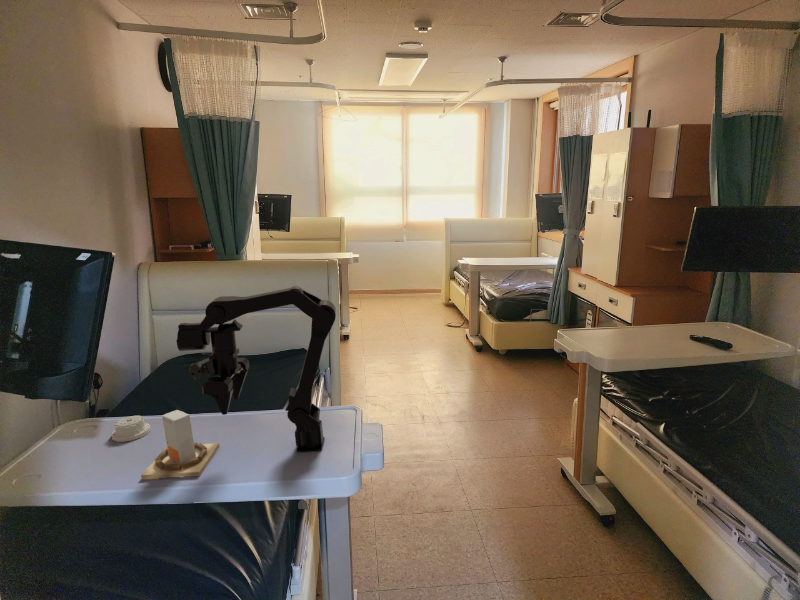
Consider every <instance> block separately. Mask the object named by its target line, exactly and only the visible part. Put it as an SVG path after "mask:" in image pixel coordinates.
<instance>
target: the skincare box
mask: <svg viewBox="0 0 800 600" xmlns="http://www.w3.org/2000/svg"><path fill="white" fill-rule="evenodd" d="M161 418H162V422H163V423H162V424H163V430H164V435H165V441H166V447H167V448H168V454H169V458H170V459H172V460H174V461H176V462H177V463H179V464H181V465H182V463H184V462H186V461H189V460H191V459H194V458H196V453H195V447H194V443H195V442H194V436H193V429H192V423H191V417H190V414H188V413H186V412H184V411H181V410H178V409H175V410H173V411H170V412H167V413H165V414H162V415H161Z"/></svg>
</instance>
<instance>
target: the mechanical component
mask: <svg viewBox="0 0 800 600" xmlns="http://www.w3.org/2000/svg"><path fill="white" fill-rule="evenodd" d="M114 429H115V430H113V431H112V433H111V439H112V441H114V442H118V443H123V442H131V441H134V440H137V439H140V438H143V437H144V436H147V434H149V433H150V432H151V425H150V424H149V423H148V422H145V419H144V416H141V415H132V416H126V417H124V418H121V419H119V420H117V421H116V422H115V424H114ZM149 431H150V432H149ZM148 432H149V433H148Z"/></svg>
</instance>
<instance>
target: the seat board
mask: <svg viewBox="0 0 800 600" xmlns="http://www.w3.org/2000/svg"><path fill="white" fill-rule="evenodd" d="M194 447H195V453H196V458H194V459H191V460H189V461H186V462H184V463H182V465H181V464H179V463H177V462H176V461H174V460H172V459H170V458H169V454H168V448H167V446H166V447H165V448H164V449H162V451H161V452H160V453H159V454H158V455H157V457H156V458H155V459H154V460H153V461H152V462H151V463H150V464H149V465H148V467H147V468H146V469H144V471H143V472H142V473H141V474H140V478H141V480H142V481H144V480H158V479H159V478H163V479H168V478H167V477H179V476H197V477H201V475H202V474H203V472H204V471H205V469H206V468H207V467H208V465H209V463H210V462H211V461H212V459H213V458H214V456H215V455H216V454H217V452H218V450H219V449H220V443H219V442H218V443H217V442H216V443H202V442H199V443H198V442H194ZM159 480H160V479H159Z"/></svg>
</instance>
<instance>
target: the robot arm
mask: <svg viewBox="0 0 800 600" xmlns="http://www.w3.org/2000/svg"><path fill="white" fill-rule="evenodd" d="M291 305H293V306H295V308H296V307H297V308H298V310H300V311H301V312H302V313H304V315H306V316H308V317H309V318H311V329H310V332H311V333H310V340H309V344H308V347H307V351H306V355H305V360H304V362H303V367H302V370H301V371H302V372H301V374H300V377H299V378H300V379H299V382H298V384H297V386H296V387H295V388H294V387H290V391H289V394H288V399H287V401H286V405H285V409H284V410H285V412H287V413H286V414H287V419H288V420H289V422H291V423H292V424H294V425H295V427H296V428H295V430H294V438H295V445H296V447H297V448H296V452H299V453H301V452H312V451H315V452H316V451H322V450H323V447H324V443H325V440H326V439H325V437H324V433H323V431H324V430H323V421H322V420H320V415H321V409H320V408H319V407H318V406H316V405H315V404H314V403H312V401H313V388H314V384H315V379H316V376H317V372H318V368H319V365H320V360H321V356H322V352H323V349H324V345H325V342H326V339H327V338H328V335H329V334H330V332H331V330H332V328H333V325H334V323H335V321H336V315H337V314H336V313H337V311H336V310H337V308H336V306H335V304H334V303H333V302H332V301H330V300H328V299H323V300H322V299H321V298H319V297H318V296H316V295H314V294H312V293H310V292H308V291H306V290H304V289H303V288H302V287H300V286H297V285H295V286H291V287H288V288H284V289H283V288H282V289H278V290H277V289H276V290H274V291H268V292H263V293H257V294H253V295H247V296H238V295H237V296H236V295H235V296H234V295H231V296H230V295H228V296H225V295H224V296H218V297H216V298H214V299H213V300H212V301H211V302H210V303H209V304H207V306H206V307H205V311H204V313H205V316H204V318H203V320H201V321H200V322H193V323H188V322H182V323H181V322H180V324H179V325H178V326H177V328H178V331H177V337H176V346H177V349H178V351H180V352H186V351H187V352H188V351H203V350H205V349H207V346H210V344H211V351H212V352H211V354H209V355H208V358H205V359H201V360H199V361H196V362H195V363H192V364H190V365H189V369H188V372H189V373H188V375H189V376H190V377H192V378H193V379H194V380H198V379H200V378H201V377H204V376H206V375H209V376H210V377H209V378H208V379H207V380H206V381H205V382H204V383H203V384H202V385H201V392H202V393H201V394H202V395H206V396H210V397H212V398H213V399H214V401H215V403H216V405H217V406H218V409H219V411H220V413H221V415H227V414H228V412H229V407H230V404H231V399H232V398H233V400H235V401H237V400H239V398H240V394H241V392H242V388H243V385H244V383H245V380H246V377H247V374H248V372H249V369H250V360H249V359H247V358H246V357H238V354H239V353H240V348H237V341H236V340H237V339H236V332H239V331H241V330H242V328H243V327H244V325H243V324H242V323H240V322H238V321H237V318H240V317H241V316H244V315H247V314H251V313H255V312H261V311H266V310H270V309H271V310H272V309H276V308H279V307H280V308H281V307H285V306H291ZM230 321H232V322H230ZM228 322H229V323H228ZM215 325H218V326H215ZM213 326H215V327H213Z"/></svg>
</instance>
